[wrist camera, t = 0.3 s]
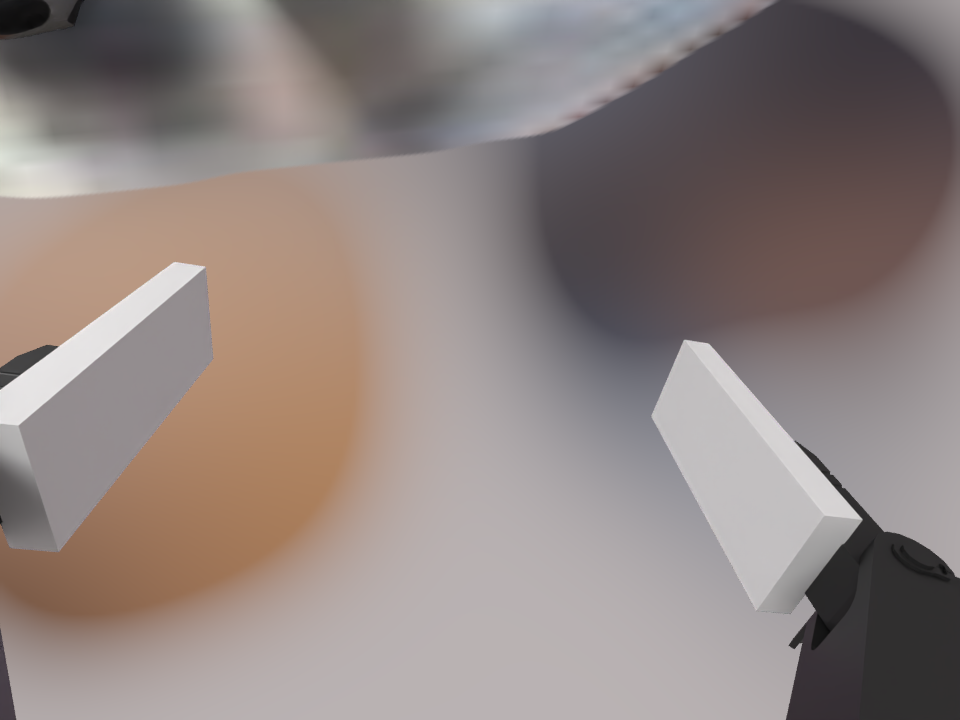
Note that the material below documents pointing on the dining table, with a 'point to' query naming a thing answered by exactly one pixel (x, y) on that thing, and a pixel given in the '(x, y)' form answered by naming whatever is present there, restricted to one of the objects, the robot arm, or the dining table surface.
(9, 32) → the lucky cat figurine
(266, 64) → the dining table surface
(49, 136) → the dining table surface
